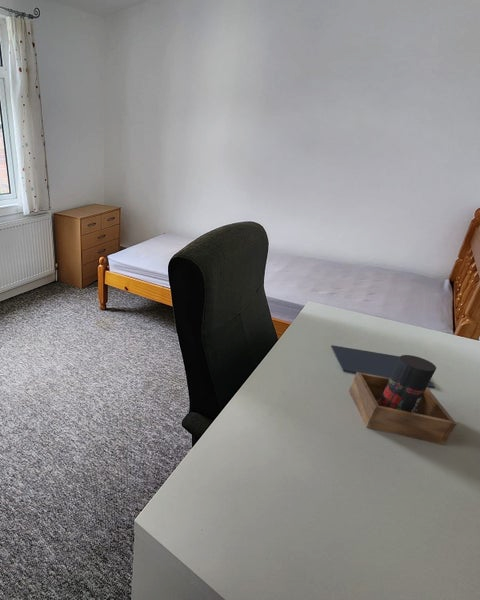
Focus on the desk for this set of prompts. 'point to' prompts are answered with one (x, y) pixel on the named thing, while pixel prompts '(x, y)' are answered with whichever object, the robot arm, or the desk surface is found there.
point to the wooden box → (401, 412)
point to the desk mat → (366, 362)
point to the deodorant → (407, 383)
